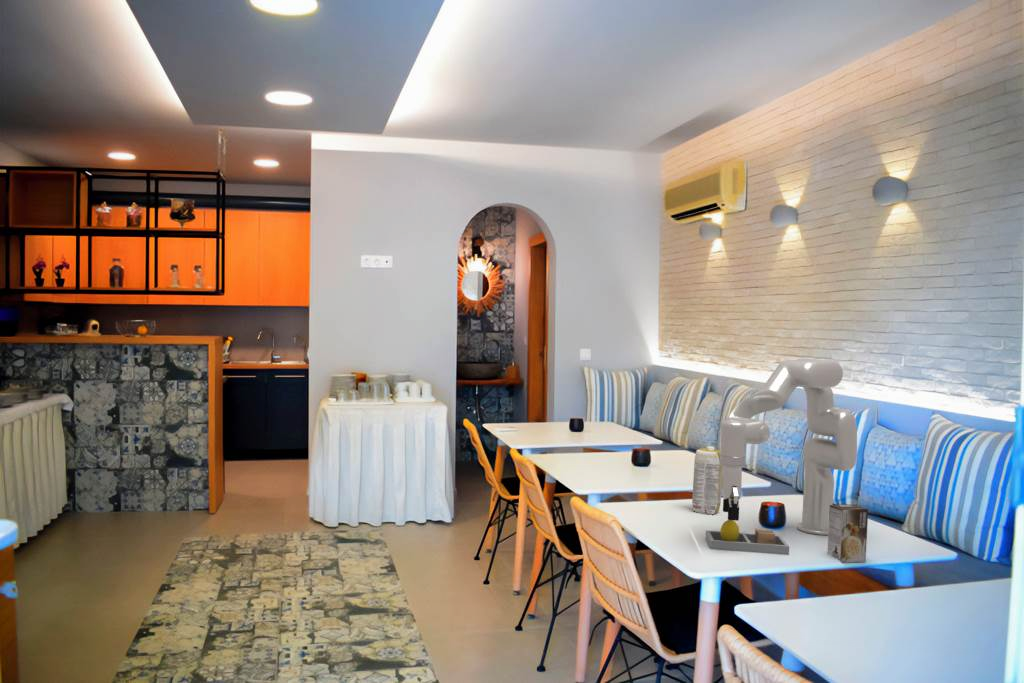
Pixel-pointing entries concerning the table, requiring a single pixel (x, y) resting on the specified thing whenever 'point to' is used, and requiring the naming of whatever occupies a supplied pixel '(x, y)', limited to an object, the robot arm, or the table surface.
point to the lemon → (729, 531)
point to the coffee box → (847, 533)
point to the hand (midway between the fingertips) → (730, 515)
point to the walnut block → (764, 536)
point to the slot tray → (746, 544)
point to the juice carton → (707, 481)
